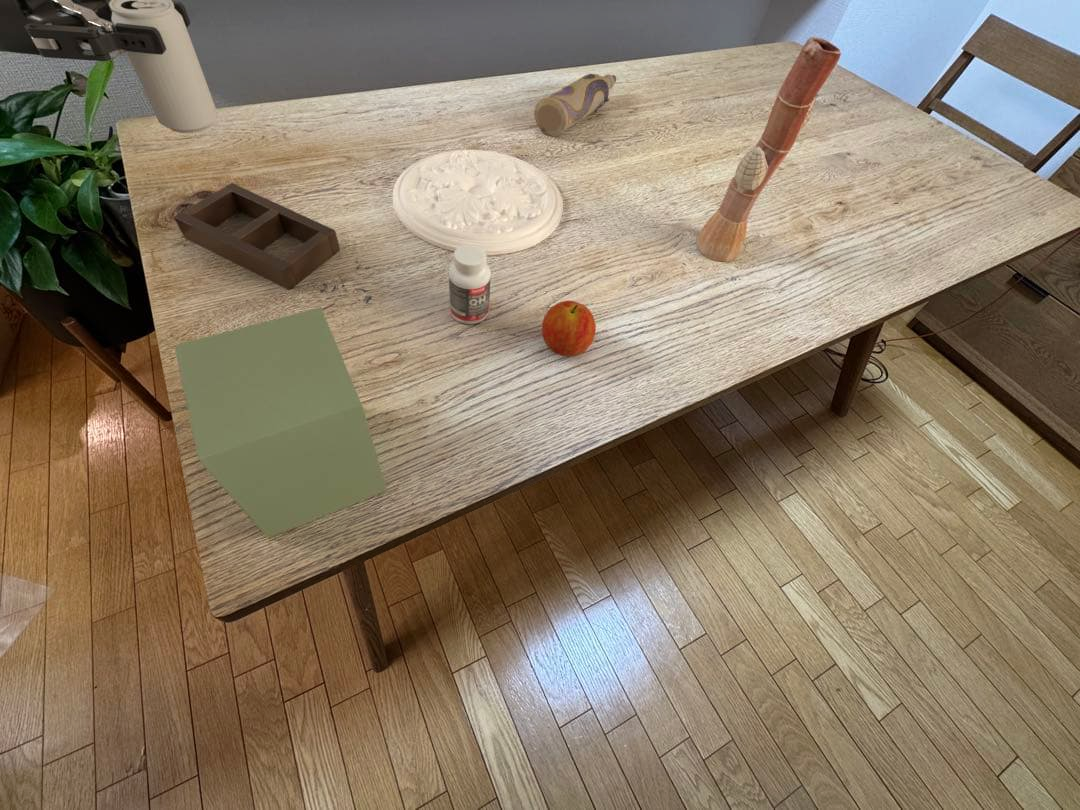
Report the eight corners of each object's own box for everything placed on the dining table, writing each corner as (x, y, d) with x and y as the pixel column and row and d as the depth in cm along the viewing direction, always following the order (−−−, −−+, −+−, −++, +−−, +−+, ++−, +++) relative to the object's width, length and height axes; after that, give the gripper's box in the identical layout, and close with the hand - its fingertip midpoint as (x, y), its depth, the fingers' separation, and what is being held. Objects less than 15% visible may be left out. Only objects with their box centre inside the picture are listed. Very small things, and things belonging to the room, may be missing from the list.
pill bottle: (475, 331, 69) (475, 274, 61) (442, 314, 70) (438, 256, 62) (496, 308, 72) (499, 251, 64) (464, 292, 73) (463, 234, 65)
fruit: (528, 344, 69) (534, 300, 62) (563, 320, 72) (573, 276, 66) (565, 375, 66) (575, 333, 60) (600, 349, 70) (613, 307, 63)
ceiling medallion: (586, 187, 92) (590, 171, 89) (517, 278, 76) (519, 261, 73) (449, 138, 96) (448, 120, 93) (357, 214, 80) (353, 195, 78)
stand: (387, 490, 55) (361, 404, 42) (268, 538, 50) (198, 459, 37) (353, 405, 60) (320, 306, 47) (242, 442, 56) (174, 345, 43)
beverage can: (159, 112, 62) (103, -10, 53) (217, 107, 65) (174, -10, 55) (162, 139, 59) (103, 15, 50) (223, 133, 61) (179, 13, 52)
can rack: (289, 290, 70) (282, 270, 67) (184, 238, 73) (172, 216, 70) (340, 250, 75) (335, 230, 72) (240, 203, 79) (231, 182, 76)
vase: (708, 266, 83) (808, 57, 58) (684, 238, 86) (768, 30, 62) (759, 254, 86) (874, 52, 62) (733, 228, 90) (832, 27, 65)
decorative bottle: (562, 143, 99) (567, 107, 94) (531, 129, 101) (534, 92, 96) (626, 100, 113) (634, 66, 107) (597, 88, 115) (604, 54, 109)
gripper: (-81, -14, 45) (127, 10, 47) (9, -61, 53) (183, -39, 55) (-17, 80, 51) (165, 97, 53) (56, 24, 59) (210, 41, 61)
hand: (174, 27), depth 54 cm, fingers closed on beverage can, 6 cm apart
